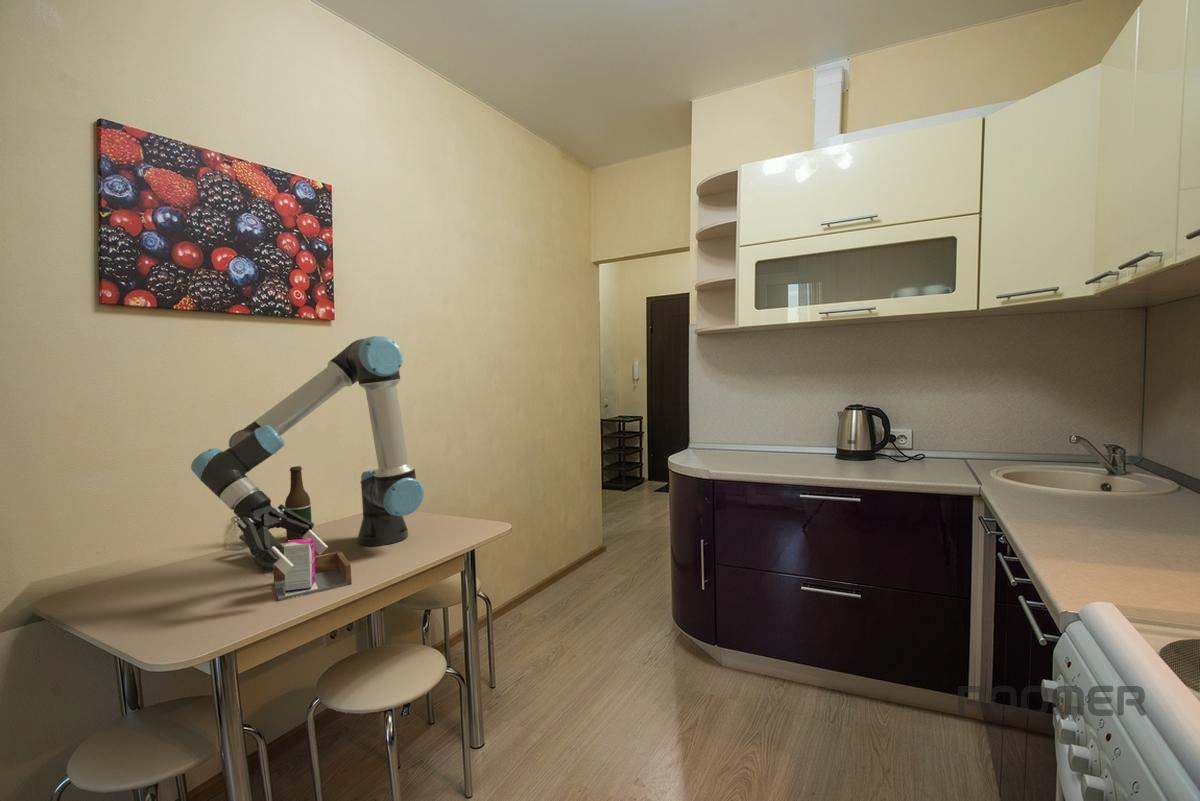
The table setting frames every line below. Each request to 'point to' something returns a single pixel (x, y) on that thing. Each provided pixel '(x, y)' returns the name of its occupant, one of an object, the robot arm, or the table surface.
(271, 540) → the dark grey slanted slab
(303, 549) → the supplement box
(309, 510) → the beer bottle
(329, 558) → the walnut corner walls
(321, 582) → the grey mat
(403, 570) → the table surface
